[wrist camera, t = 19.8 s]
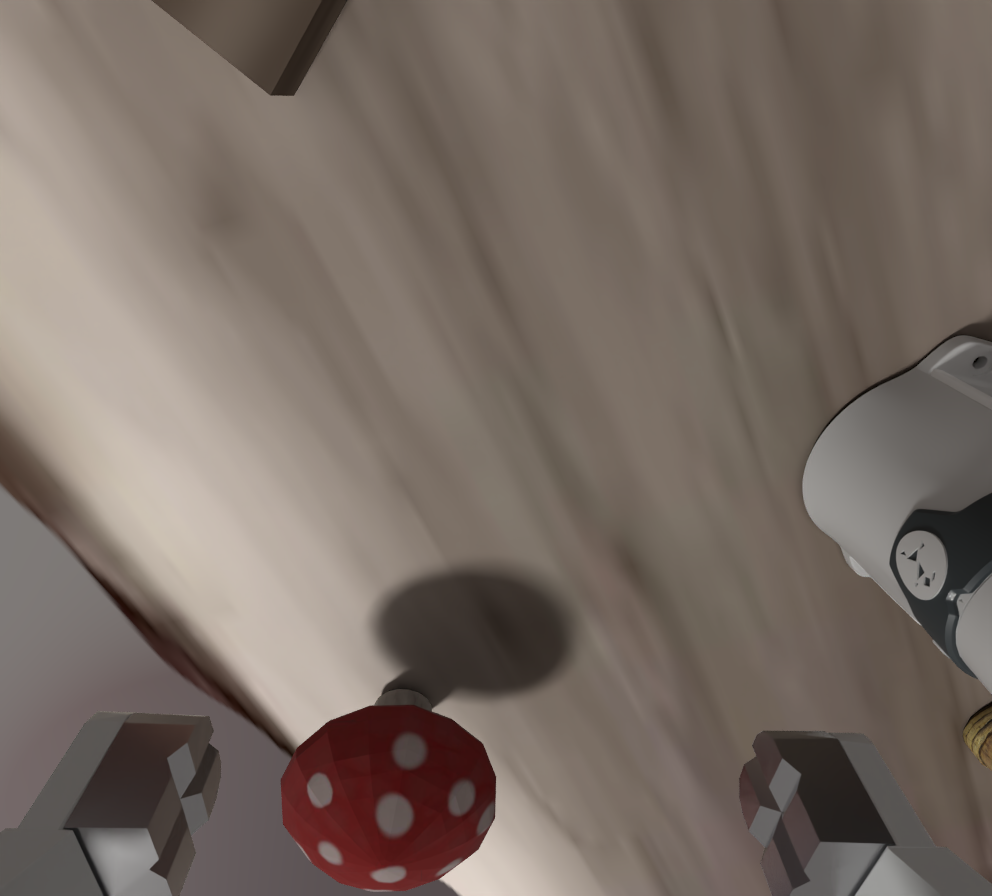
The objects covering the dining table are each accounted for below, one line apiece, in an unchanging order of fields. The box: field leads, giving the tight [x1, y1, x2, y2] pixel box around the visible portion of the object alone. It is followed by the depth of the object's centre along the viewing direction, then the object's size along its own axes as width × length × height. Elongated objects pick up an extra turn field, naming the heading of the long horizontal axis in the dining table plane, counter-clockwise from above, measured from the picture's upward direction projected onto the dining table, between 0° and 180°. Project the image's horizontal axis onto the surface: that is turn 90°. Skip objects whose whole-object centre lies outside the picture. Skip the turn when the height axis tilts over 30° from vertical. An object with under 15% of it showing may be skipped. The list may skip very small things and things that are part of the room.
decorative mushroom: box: [281, 689, 496, 892], centre depth 48 cm, size 16×16×15 cm
